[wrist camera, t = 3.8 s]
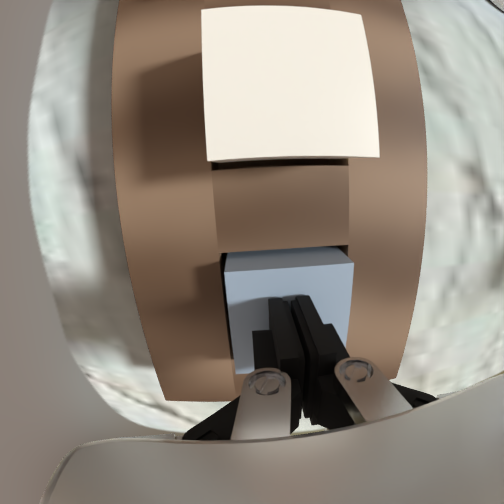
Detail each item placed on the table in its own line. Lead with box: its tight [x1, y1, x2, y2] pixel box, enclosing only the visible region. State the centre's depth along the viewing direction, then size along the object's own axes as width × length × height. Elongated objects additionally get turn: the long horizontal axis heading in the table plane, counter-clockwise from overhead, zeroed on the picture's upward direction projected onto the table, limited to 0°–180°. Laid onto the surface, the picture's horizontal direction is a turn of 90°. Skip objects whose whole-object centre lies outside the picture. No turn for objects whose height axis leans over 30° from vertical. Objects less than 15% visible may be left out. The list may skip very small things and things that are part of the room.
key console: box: [111, 0, 427, 402], centre depth 12 cm, size 30×14×4 cm, turn 3°
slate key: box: [224, 245, 354, 374], centre depth 13 cm, size 5×5×4 cm
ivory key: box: [201, 6, 380, 163], centre depth 9 cm, size 5×5×4 cm
